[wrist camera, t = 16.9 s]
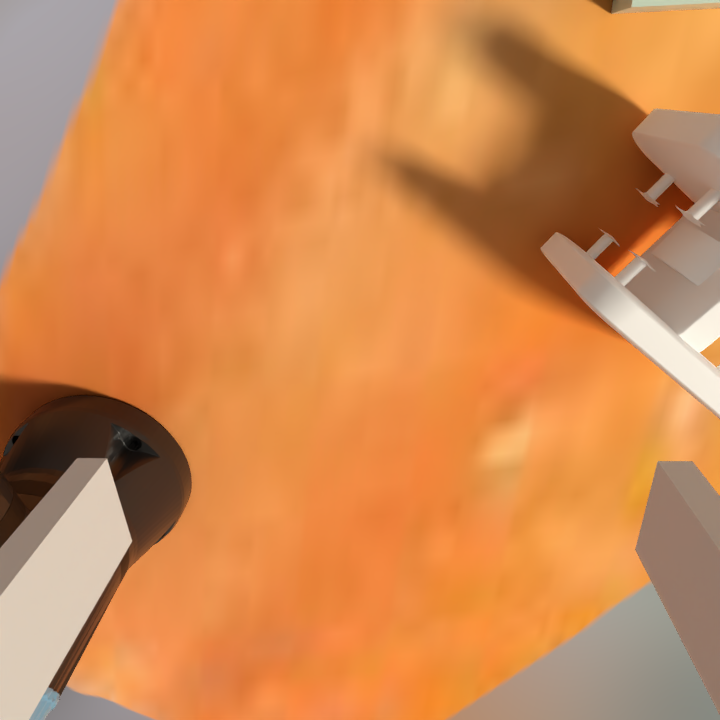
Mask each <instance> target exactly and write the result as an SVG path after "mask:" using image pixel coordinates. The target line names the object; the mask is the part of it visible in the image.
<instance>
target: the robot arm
mask: <svg viewBox="0 0 720 720" xmlns="http://www.w3.org/2000/svg"><path fill="white" fill-rule="evenodd" d="M190 493H191V473H190V468H189V465H188V462H187V459H186V457H185V455H184V453H183V451H182V449H181V448H180V446H179V445H178V443H177V442H176V441H175V439H174V438H173V437H172V436H171V435H170V433H169V432H168V431H167V430H166V429H165V428H164V427H162V426H161V425H160V424H159V423H158V422H156V421H155V420H154V419H152V418H151V417H150V416H148V415H147V414H145V413H143V412H142V411H140V410H138V409H136V408H134V407H132V406H130V405H127V404H125V403H122V402H119V401H116V400H113V399H109V398H104V397H98V396H87V395H79V396H69V397H63V398H60V399H56V400H54V401H51V402H49V403H47V404H45V405H43V406H42V407H40V408H39V409H37V410H36V411H35V412H34V413H33V414H32V415H31V416H30V417H28V418H27V419H26V420H25V421H24V422H23V423H22V424H21V425H20V426H19V427H18V428H17V429H16V430H15V432H14V433H13V434H12V436H11V437H10V439H9V441H8V443H7V446H6V448H5V451H4V455H3V457H2V459H1V460H0V720H45V718H46V717H47V715H48V713H49V712H50V711H51V710H53V709H54V708H55V706H56V705H57V703H58V700H59V698H60V696H61V694H62V692H63V690H64V688H65V686H66V684H67V683H68V681H69V679H70V677H71V675H72V673H73V671H74V669H75V667H76V666H77V664H78V662H79V660H80V658H81V656H82V654H83V652H84V650H85V649H86V647H87V645H88V643H89V641H90V639H91V637H92V635H93V633H94V632H95V630H96V628H97V626H98V624H99V622H100V620H101V618H102V616H103V615H104V613H105V611H106V609H107V607H108V605H109V603H110V601H111V599H112V598H113V596H114V594H115V592H116V590H117V588H118V586H119V585H120V583H121V581H122V579H123V577H124V576H125V574H126V572H127V570H128V569H129V568H130V567H131V566H132V565H133V564H134V563H135V562H136V561H137V560H138V559H139V558H140V557H141V556H142V555H144V554H145V553H146V552H147V551H148V550H149V549H150V548H151V547H152V546H153V545H154V544H156V543H158V542H159V541H160V540H162V539H163V538H164V537H165V536H166V535H167V534H168V533H169V532H170V531H171V530H172V529H173V528H174V526H175V525H176V523H177V522H178V520H179V518H180V516H181V514H182V512H183V510H184V509H185V507H186V505H187V502H188V500H189V497H190ZM635 550H636V552H637V554H638V556H639V558H640V560H641V562H642V564H643V566H644V568H645V570H646V572H647V573H648V575H649V577H650V579H651V581H652V583H653V585H654V587H655V589H656V591H657V593H658V595H659V597H660V599H661V601H662V603H663V605H664V607H665V609H666V611H667V613H668V615H669V616H670V618H671V620H672V622H673V624H674V626H675V628H676V630H677V632H678V634H679V636H680V638H681V640H682V642H683V644H684V646H685V648H686V650H687V652H688V654H689V656H690V658H691V660H692V661H693V663H694V665H695V667H696V669H697V671H698V673H699V675H700V677H701V679H702V681H703V683H704V685H705V687H706V689H707V691H708V693H709V695H710V697H711V699H712V700H713V703H714V705H715V706H716V708H717V710H718V712H719V714H720V496H719V495H718V493H717V492H716V491H715V490H714V488H713V487H712V486H711V485H710V483H709V482H708V481H707V479H706V478H705V477H704V476H703V474H702V473H701V472H700V470H699V469H698V468H697V467H696V465H695V464H694V463H693V461H658V462H657V466H656V470H655V474H654V478H653V482H652V486H651V490H650V494H649V498H648V502H647V506H646V510H645V514H644V518H643V522H642V525H641V529H640V533H639V537H638V541H637V545H636V549H635Z"/></svg>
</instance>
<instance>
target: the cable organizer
mask: <svg viewBox="0 0 720 720" xmlns="http://www.w3.org/2000/svg"><path fill="white" fill-rule="evenodd" d="M632 137H633V139H634V141H635V143H636V144H637V146H638V147H639V148H640V150H641V151H642V152H643V153H644V154H645V155H646V156H647V157H648V158H649V159H650V160H651V161H652V162H653V163H654V164H655V165H656V166H657V167H658V168H659V169H660V170H661V171H662V172H663V173H664V175H663V176H662V177H661V178H660V179H659V180H658V181H657V182H656V183H655V184H654V185H653V186H652V187H651V188H650V189H649V190H648V191H647V192H645V193H643V192H641V191H640V190H638V189H637V188H636V189H637V190H638V191H639V192H640V194H641V195H642V196H643V197H644V198H645V199H646V200H647V201H649V202H650V203H652V204H654V205H655V206H657V204H659V203H657V202H656V201H655V200H656V199H657V198H658V197H659V196H660V195H661V194H662V193H663V192H664V191H665V190H666V189H667V188H668V187H669V186H670V185H671V184H672V183H674V184H675V185H676V186H677V187H678V188H679V189H680V190H681V191H682V192H683V193H684V194H685V195H686V196H687V197H688V198H689V199H690V200H692V201H693V202H694V203H695V204H694V205H693V206H692V207H691V208H689V209H688V210H687V211H683V210H682V209H680V208H679V207H677V206H676V207H677V208H678V210H679V211H680V212H681V213H682V214H683V216H682V217H681V218H680V219H679V220H678V221H677V222H676V223H675V224H674V225H673V226H672V227H671V228H670V229H669V230H668V231H667V232H666V233H664V234H663V235H662V236H661V237H660V238H659V239H658V240H657V241H656V242H655V243H654V244H653V245H652V246H651V247H650V248H649V249H648V250H646V251H645V252H644V253H643V254H642V255H641V256H638V255H637V254H635V253H633V252H632V251H630V250H629V251H630V252H631V253H633V254H634V255H635V256H636V258H634V259H633V260H632V261H631V262H630V263H629V264H628V265H627V266H626V267H625V268H624V269H623V270H622V271H621V272H620V273H619V274H618V275H617V276H615V277H613V276H612V275H611V274H610V273H609V272H608V271H607V270H605V269H604V268H603V267H602V266H601V265H600V264H599V263H597V262H596V261H595V259H596V258H597V257H598V256H599V255H600V254H601V253H602V252H603V251H604V250H605V249H606V248H607V247H608V246H609V245H610V244H611V243H612V242H615V243H616V244H617V245H618V246H619V247H620V245H619V244H618V243H617V241H616V240H615V239H614V238H613V236H611V235H610V234H608V233H606V232H604V231H603V230H601V229H600V230H601V231H602V232H603V233H604V235H603V236H602V237H601V238H600V239H599V240H598V241H597V242H596V243H595V244H594V245H593V246H592V247H591V248H590V249H589V250H588V251H587V252H585V251H584V250H583V249H581V248H580V247H579V246H578V245H577V244H575V243H574V242H573V241H571V240H570V239H568V238H567V237H565V236H564V235H562V234H560V233H558V232H555V233H554V234H553V235H552V236H551V237H550V239H549V240H548V241H547V242H546V243H545V244H544V245H543V246H542V247H541V251H542V253H543V254H544V255H545V257H546V258H547V259H548V260H549V261H550V263H551V264H552V265H553V266H554V267H555V268H556V270H557V271H558V272H559V273H560V274H561V275H562V277H563V278H564V279H565V280H566V281H567V282H568V284H569V285H570V286H571V287H572V288H573V289H574V291H575V292H576V293H577V294H578V295H579V296H580V297H581V299H582V300H583V301H584V302H585V303H586V304H587V305H588V306H589V307H590V308H591V309H592V310H593V311H594V312H595V313H596V314H597V315H598V316H599V317H600V318H601V319H602V320H604V321H605V322H606V323H607V324H608V325H609V326H611V327H612V328H613V329H614V330H615V331H616V332H618V333H619V334H620V335H621V336H622V337H624V338H625V339H626V340H627V341H628V342H629V343H631V344H632V345H633V346H634V347H635V348H637V349H638V350H639V351H640V352H641V353H642V354H644V355H645V356H646V357H647V358H648V359H649V360H651V361H652V362H653V363H654V364H655V365H657V366H658V367H659V368H660V369H661V370H662V371H664V372H665V373H666V374H667V375H668V376H670V377H671V378H672V379H673V380H674V381H675V382H677V383H678V384H679V385H680V386H681V387H682V388H684V389H685V390H686V391H687V392H688V393H690V394H691V395H692V396H693V397H694V398H695V399H697V400H698V401H699V402H700V403H701V404H703V405H704V406H705V407H706V408H707V409H708V410H710V411H711V412H712V413H713V414H714V415H715V416H717V417H718V418H719V419H720V365H719V366H718V367H715V366H714V365H713V364H712V363H711V362H710V361H708V360H707V359H706V358H705V357H704V356H703V355H702V354H701V353H699V352H701V351H702V350H704V349H705V348H706V347H707V346H709V345H710V344H711V343H712V342H714V341H715V340H716V339H717V338H718V337H720V115H718V114H708V113H698V112H688V111H677V110H667V109H654V110H653V111H652V112H651V113H650V114H649V115H648V116H647V117H646V118H645V119H644V120H643V121H642V122H641V124H640V125H639V126H638V127H637V128H636V129H635V130H634V131H633V132H632ZM659 205H660V204H659ZM657 207H658V206H657Z"/></svg>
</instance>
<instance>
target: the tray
mask: <svg viewBox="0 0 720 720" xmlns="http://www.w3.org/2000/svg"><path fill="white" fill-rule="evenodd" d="M714 8H720V0H613V4H612V11H611V14H617V13H636V12H656V11H675V10H695V9H714Z"/></svg>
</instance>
